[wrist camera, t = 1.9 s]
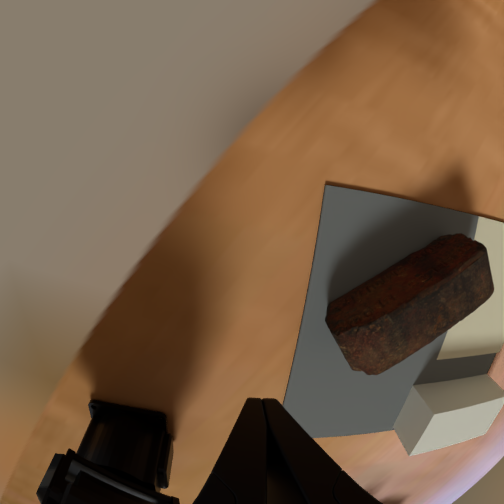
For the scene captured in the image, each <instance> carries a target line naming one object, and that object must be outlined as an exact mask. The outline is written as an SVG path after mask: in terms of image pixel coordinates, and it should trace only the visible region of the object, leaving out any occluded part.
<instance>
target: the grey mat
mask: <svg viewBox="0 0 504 504" xmlns="http://www.w3.org/2000/svg"><path fill="white" fill-rule="evenodd" d="M456 233H458V234H459V233H462V234H464V235H466V236H467V237H468V238H471V239H472V240H473V241H474V240H476V241H478V242H480V243H482V244H483V245H484V246H485V247H486V248H487V253H488V258H489V263H490V269H491V274H492V279H493V284H494V292H493V294H492V296H491V297H490V298H489V299H488V300H487V301H486V302H485V303H484V304H482V305H481V306H480V307H478V308H477V309H476V310H475V311H474V312H473V313H471V314H470V315H468V316H467V317H465V318H464V319H463V320H462V321H459V322H458V323H457V324H456V325H454V326H453V327H452V328H450V329H449V330H447V331H446V332H445V333H443V334H442V335H440V336H439V337H437V338H436V339H435V340H434V341H432V342H431V343H430V344H428V345H426V346H424V347H423V348H421V349H420V350H418V351H417V352H415V353H414V354H412V355H411V356H409V357H408V358H406V359H405V360H403V361H402V362H400V363H398V364H396V365H395V366H393V367H391V368H390V369H388V370H386V371H384V372H383V373H381V374H378V375H367V374H366V373H364V372H363V371H361V372H360V371H353V370H352V369H351V368H350V366H349V364H348V362H347V361H346V359H345V358H344V355H343V354H342V352H341V350H340V348H339V346H338V344H337V343H336V341H335V339H334V337H333V336H332V334H331V332H330V330H329V328H328V326H327V324H326V322H325V317H326V311H327V306H328V305H329V303H330V302H332V301H334V300H335V299H337V298H339V297H341V296H342V295H344V294H346V293H348V292H349V291H351V290H352V289H354V288H356V287H357V286H359V285H361V284H363V283H364V282H366V281H368V280H369V279H371V278H373V277H374V276H376V275H378V274H379V273H381V272H383V271H384V270H386V269H387V268H389V267H390V266H392V265H394V264H396V263H397V262H399V261H400V260H402V259H404V258H405V257H407V256H408V255H409V254H411V253H413V252H416V251H418V250H420V249H422V248H424V247H426V246H427V245H428V244H430V243H431V242H432V241H433V240H436V239H437V238H438V237H440V236H444V235H448V234H451V235H453V234H456ZM503 343H504V223H502V222H499V221H495V220H491V219H488V218H484V217H480V216H476V215H472V214H468V213H464V212H460V211H456V210H452V209H448V208H443V207H439V206H434V205H430V204H425V203H421V202H416V201H411V200H407V199H402V198H397V197H392V196H387V195H381V194H376V193H371V192H365V191H360V190H354V189H348V188H342V187H336V186H330V185H325V188H324V195H323V201H322V208H321V215H320V221H319V227H318V234H317V240H316V246H315V251H314V257H313V263H312V269H311V274H310V280H309V285H308V290H307V296H306V301H305V306H304V311H303V316H302V321H301V326H300V331H299V335H298V340H297V345H296V349H295V354H294V359H293V363H292V368H291V372H290V376H289V381H288V385H287V389H286V393H285V398H284V402H283V407H284V408H285V409H286V410H287V411H288V413H289V414H290V415H291V416H292V417H293V418H294V419H295V420H296V421H297V422H298V423H299V425H300V426H301V427H302V428H303V429H304V430H305V431H306V432H307V433H308V434H309V435H310V436H311V437H312V438H321V437H336V436H348V435H358V434H367V433H375V432H383V431H390V430H394V428H393V425H394V423H395V421H396V419H397V417H398V415H399V413H400V411H401V409H402V407H403V405H404V403H405V401H406V399H407V397H408V395H409V392H410V390H411V388H412V386H413V385H419V384H427V383H435V382H442V381H449V380H455V379H461V378H467V377H473V376H478V375H484V374H487V372H488V370H489V368H490V366H491V364H492V362H493V359H494V357H495V355H496V353H498V352H500V350H501V348H502V345H503Z"/></svg>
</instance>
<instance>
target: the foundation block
mask: <svg viewBox="0 0 504 504" xmlns="http://www.w3.org/2000/svg"><path fill="white" fill-rule="evenodd" d="M503 404H504V390H503V389H502V388H501V387H500V386H499V385H498V384H497V383H496V382H495V381H494V380H493V379H492V378H491V377H490V376H488V375H487V374H484V375H478V376H473V377H467V378H461V379H455V380H449V381H442V382H435V383H427V384H419V385H413V386H412V388H411V390H410V392H409V395H408V397H407V399H406V401H405V403H404V405H403V407H402V409H401V411H400V413H399V415H398V417H397V419H396V421H395V423H394V425H393V428H394V430H395V432H396V433H397V435H398V437H399V439H400V441H401V442H402V444H403V446H404V448H405V450H406V451H407V453H408V455H409V456H412V455H417V454H421V453H425V452H429V451H433V450H436V449H440V448H444V447H447V446H451V445H454V444H457V443H460V442H464V441H467V440H470V439H473V438H476V437H478V436H481V435H484V434H485V433H486V432H487V430H488V429H489V427H490V426H491V424H492V423H493V421H494V419H495V418H496V416H497V414H498V413H499V411H500V409H501V408H502V406H503Z"/></svg>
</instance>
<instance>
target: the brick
mask: <svg viewBox="0 0 504 504" xmlns="http://www.w3.org/2000/svg"><path fill="white" fill-rule="evenodd" d="M493 292H494V284H493V279H492V274H491V269H490V263H489V258H488V253H487V248H486V247H485V246H484V245H483V244H482V243H480V242H478V241H476V240H474V241H473V240H472V239H471V238H468V237H467V236H466V235H464V234H462V233H459V234H458V233H456V234H453V235H451V234H448V235H444V236H440V237H438V238H437V239H436V240H433V241H432V242H431V243H430V244H428V245H427V246H426V247H424V248H422V249H420V250H418V251H416V252H413V253H411V254H409V255H408V256H407V257H405V258H404V259H402V260H400V261H399V262H397V263H396V264H394V265H392V266H390V267H389V268H387V269H386V270H384V271H383V272H381V273H379V274H378V275H376V276H374V277H373V278H371V279H369V280H368V281H366V282H364V283H363V284H361V285H359V286H357V287H356V288H354V289H352V290H351V291H349V292H348V293H346V294H344V295H342V296H341V297H339V298H337V299H335V300H334V301H332V302H330V303H329V305H328V306H327V311H326V317H325V322H326V324H327V326H328V328H329V330H330V332H331V334H332V336H333V337H334V339H335V341H336V343H337V344H338V346H339V348H340V350H341V352H342V354H343V355H344V358H345V359H346V361H347V362H348V364H349V366H350V368H351V369H352V370H353V371H360V372H361V371H363V372H364V373H366V374H367V375H378V374H381V373H383V372H384V371H386V370H388V369H390V368H391V367H393V366H395V365H396V364H398V363H400V362H402V361H403V360H405V359H406V358H408V357H409V356H411V355H412V354H414V353H415V352H417V351H418V350H420V349H421V348H423V347H424V346H426V345H428V344H430V343H431V342H432V341H434V340H435V339H436V338H437V337H439V336H440V335H442V334H443V333H445V332H446V331H447V330H449V329H450V328H452V327H453V326H454V325H456V324H457V323H458V322H459V321H462V320H463V319H464V318H465V317H467V316H468V315H470V314H471V313H473V312H474V311H475V310H476V309H477V308H478V307H480V306H481V305H482V304H484V303H485V302H486V301H487V300H488V299H489V298H490V297H491V296H492V294H493Z"/></svg>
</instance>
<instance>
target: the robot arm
mask: <svg viewBox="0 0 504 504" xmlns="http://www.w3.org/2000/svg"><path fill="white" fill-rule="evenodd" d="M88 406H89V410H90V414H91V418H92V419H91V421H90V424H89V426H88V428H87V430H86V433H85V435H84V437H83V439H82V442H81V444H80V446H79V449H78V451H77V453H75V451H73V450H71V449H70V448H69V449H68V451H67V453H66V455H65V454H57V453H55V455H54V457H53V459H52V461H51V463H50V466H49V468H48V470H47V472H46V474H45V476H44V478H43V480H42V482H41V484H40V486H39V488H38V490H37V493H36V494H37V496H38V499H39V501H40V503H41V504H180V503H179V498H176V497H173V496H171V497H170V496H167V495H164V494H162V493H160V490H161V488H163V489H166V488H167V487H168V486H169V479H170V473H171V466H172V459H173V438H172V435H171V434H169V433H168V430H167V417H166V415H165V414H164V413H162V412H156V411H150V410H143V409H137V408H132V407H126V406H121V405H116V404H111V403H106V402H102V401H97V400H91V401H90V402H89V404H88ZM160 418H162V419H160ZM341 470H342V468H341V467H340V466H339V465H338V464H337V463H336V462H335V461H334V460H333V459H332V458H331V457H330V456H329V455H328V454H327V453H326V452H325V451H324V450H323V449H322V448H321V447H320V446H319V445H318V444H317V443H316V442H315V441H314V440H313V439H312V437H311V436H310V435H309V434H308V433H307V432H306V431H305V430H304V429H303V428H302V427H301V426H300V425H299V423H298V422H297V421H296V420H295V419H294V418H293V417H292V416H291V415H290V414H289V413H288V411H287V410H286V409H285V408H284V407H283V406H282V405H281V404H280V402H279V401H278V400H277V399H274V398H263V399H262V400H261V399H260V398H247V400H246V402H245V404H244V406H243V408H242V410H241V412H240V415H239V417H238V419H237V421H236V423H235V425H234V427H233V429H232V431H231V433H230V435H229V438H228V440H227V442H226V444H225V446H224V448H223V450H222V452H221V454H220V456H219V458H218V460H217V462H216V464H215V466H214V468H213V470H212V472H211V474H210V475H209V477H208V479H207V481H206V483H205V485H204V486H203V488H202V490H201V492H200V493H199V495H198V496H197V498H196V499H195V501H194V502H193V503H192V504H382V503H381V502H380V501H378V500H377V499H376V498H374V497H373V496H372V495H370V494H369V493H368V492H367V491H365V490H364V489H363V488H362V487H361V486H359V485H358V484H357V483H356V482H355V481H354V480H353V479H352V478H351V477H350V476H349V475H348V474H347V473H346V472H345V471H344V470H342V471H341Z"/></svg>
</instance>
